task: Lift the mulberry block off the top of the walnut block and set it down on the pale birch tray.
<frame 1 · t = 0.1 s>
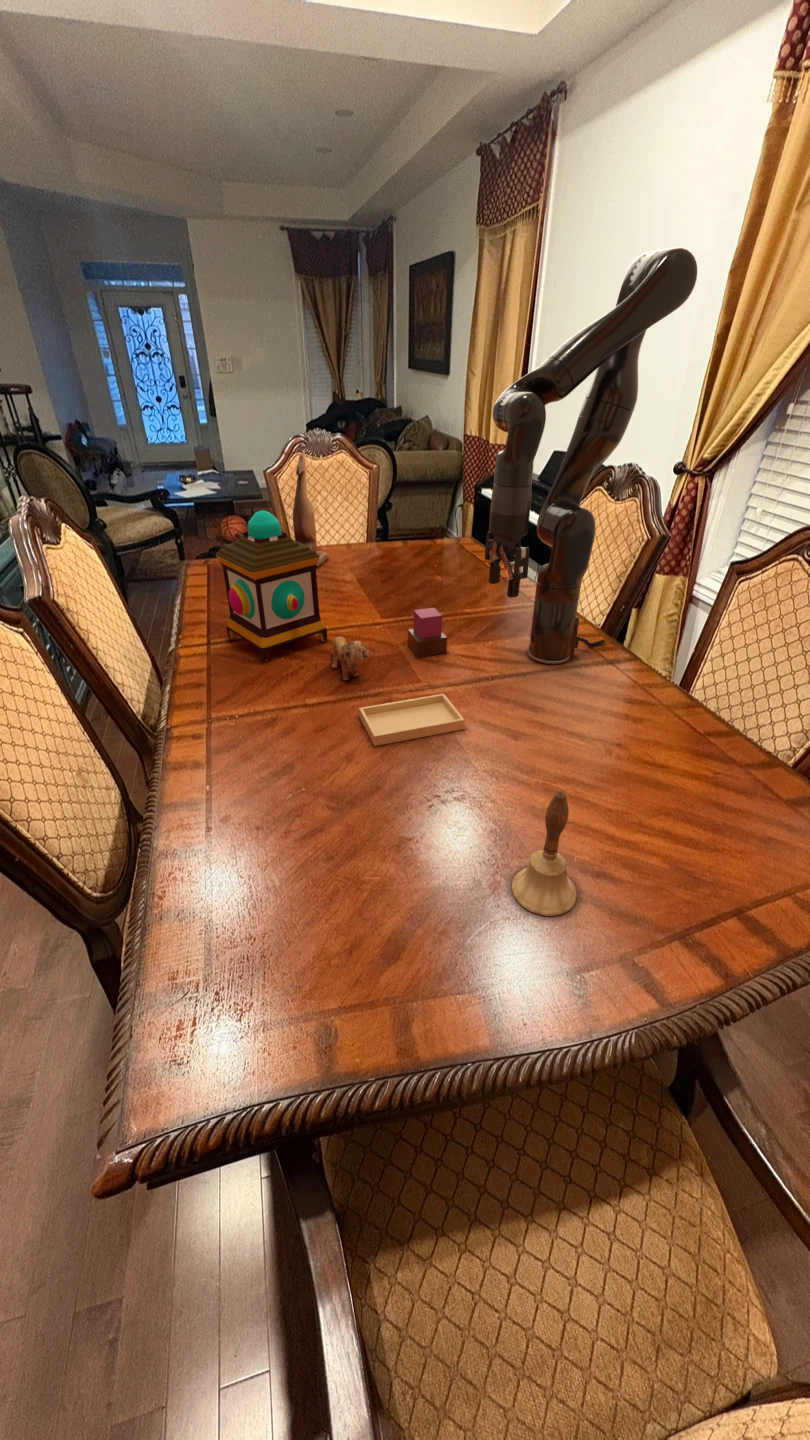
hand: (502, 589, 125), 17 cm above the table, tool pointing down, fingers open, 8 cm apart
walnut block: (426, 649, 141), on the table, touching mulberry block
lion figurine: (348, 672, 131), on the table
tray: (411, 723, 114), on the table
decorative lantern: (277, 640, 145), on the table
bird sculpture: (307, 562, 195), on the table
hand bell: (543, 892, 79), on the table
mulberry block: (427, 633, 138), point 4 cm above the table, touching walnut block
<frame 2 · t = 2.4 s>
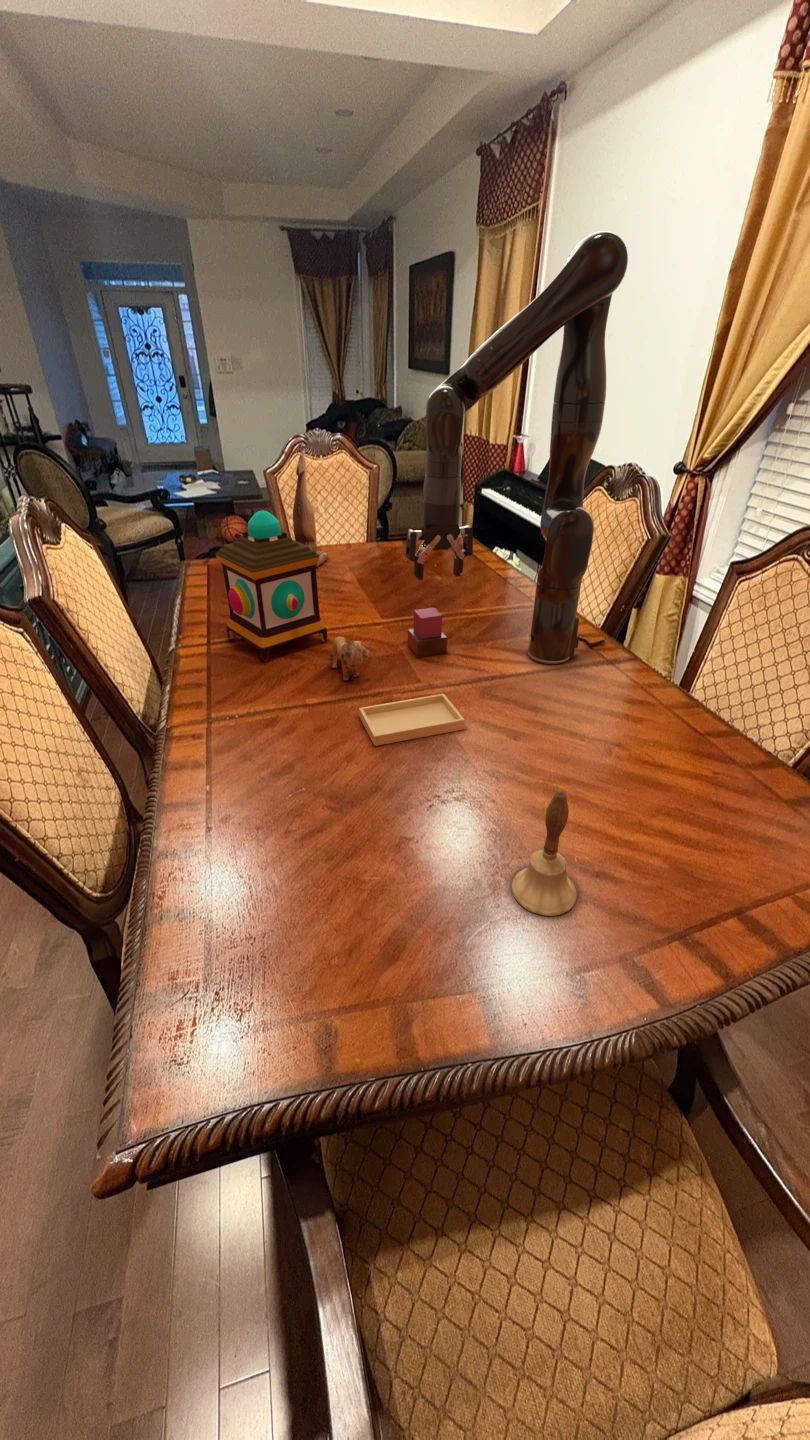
hand: (438, 577, 130), 18 cm above the table, tool pointing down, fingers open, 8 cm apart
nothing on the table moved.
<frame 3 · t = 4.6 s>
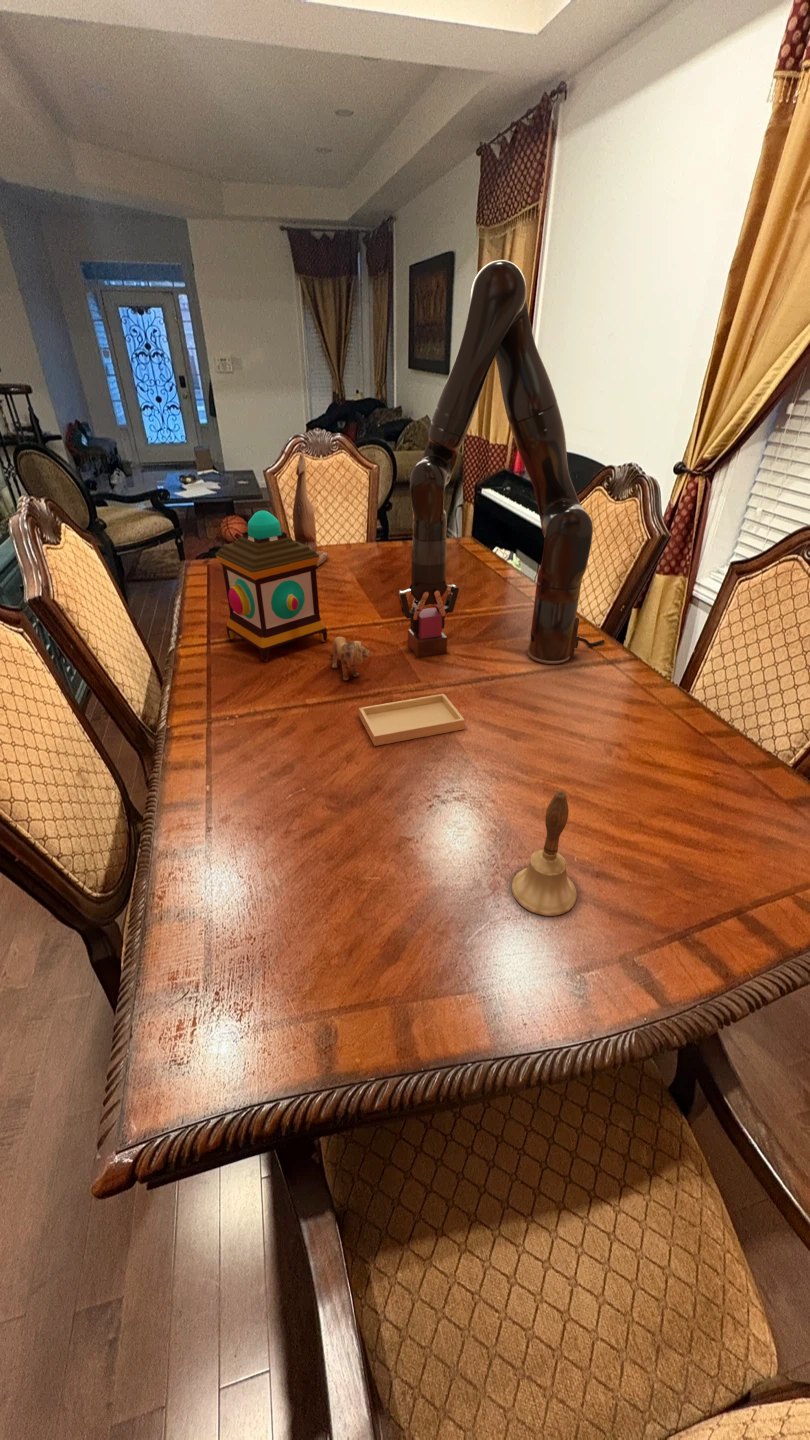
hand: (427, 631, 138), 4 cm above the table, tool pointing down, fingers closed on mulberry block, 5 cm apart
mulberry block: (427, 633, 138), point 4 cm above the table, touching gripper, walnut block
everything else where it was.
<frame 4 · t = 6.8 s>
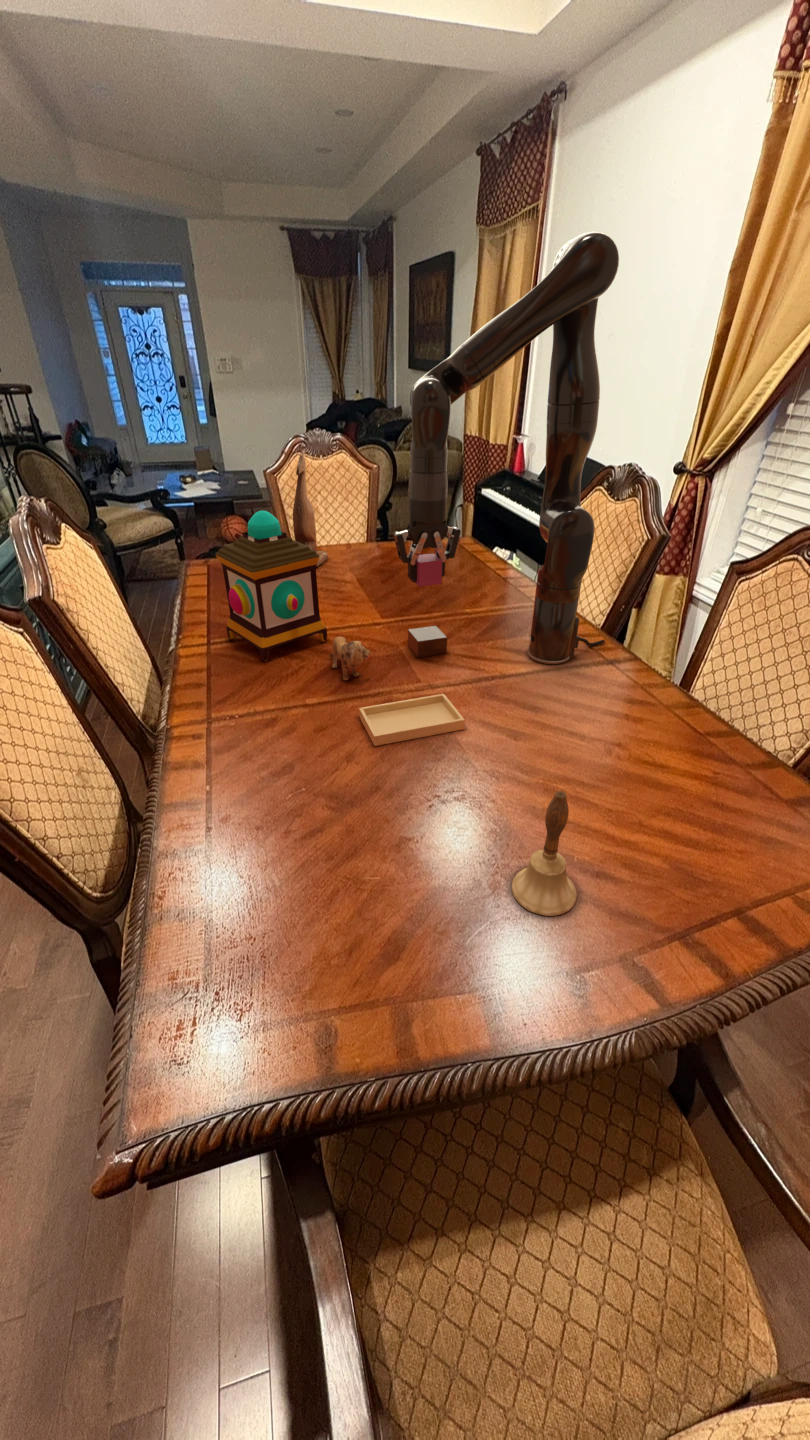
hand: (426, 579, 127), 18 cm above the table, tool pointing down, fingers closed on mulberry block, 5 cm apart
walnut block: (426, 649, 141), on the table
mulberry block: (426, 581, 127), point 18 cm above the table, touching gripper
everything else where it was.
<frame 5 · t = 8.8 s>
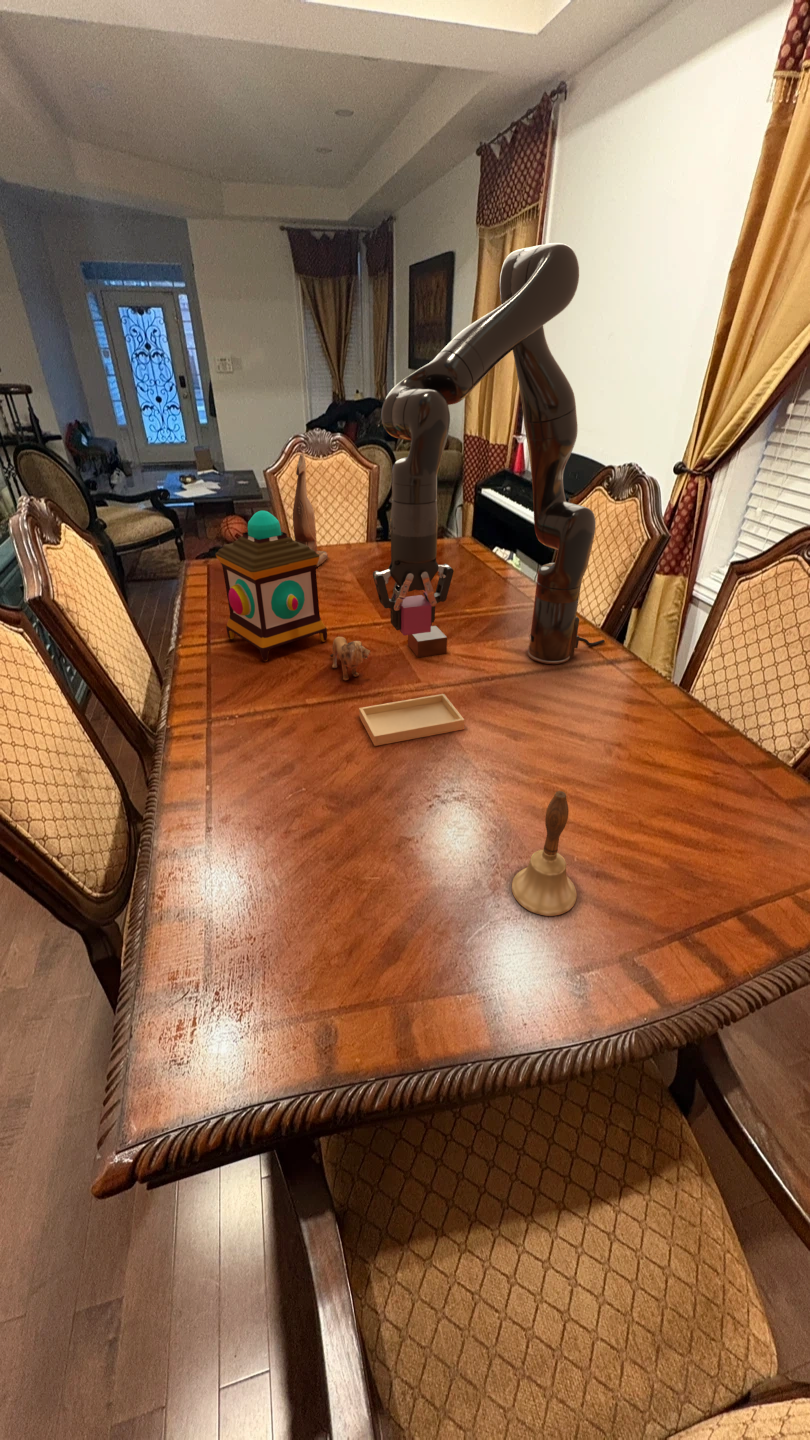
hand: (412, 626, 107), 18 cm above the table, tool pointing down, fingers closed on mulberry block, 5 cm apart
mulberry block: (412, 628, 107), point 18 cm above the table, touching gripper
everything else where it was.
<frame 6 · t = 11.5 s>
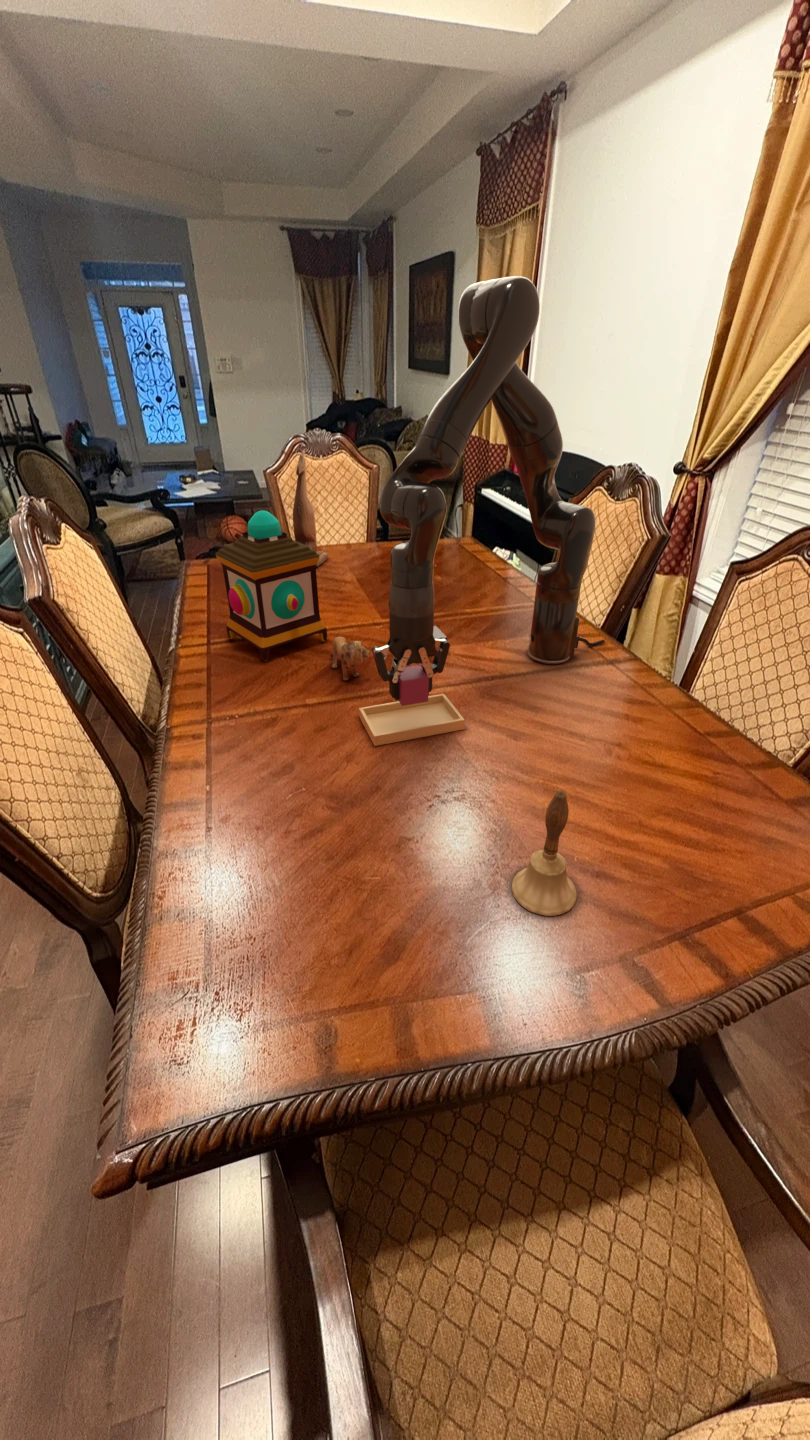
hand: (410, 695, 110), 6 cm above the table, tool pointing down, fingers closed on mulberry block, 5 cm apart
mulberry block: (410, 697, 111), point 6 cm above the table, touching gripper
everything else where it was.
when the fingers open (1 cm above the table, at t = 13.3 s): mulberry block stays where it is, resting on tray.
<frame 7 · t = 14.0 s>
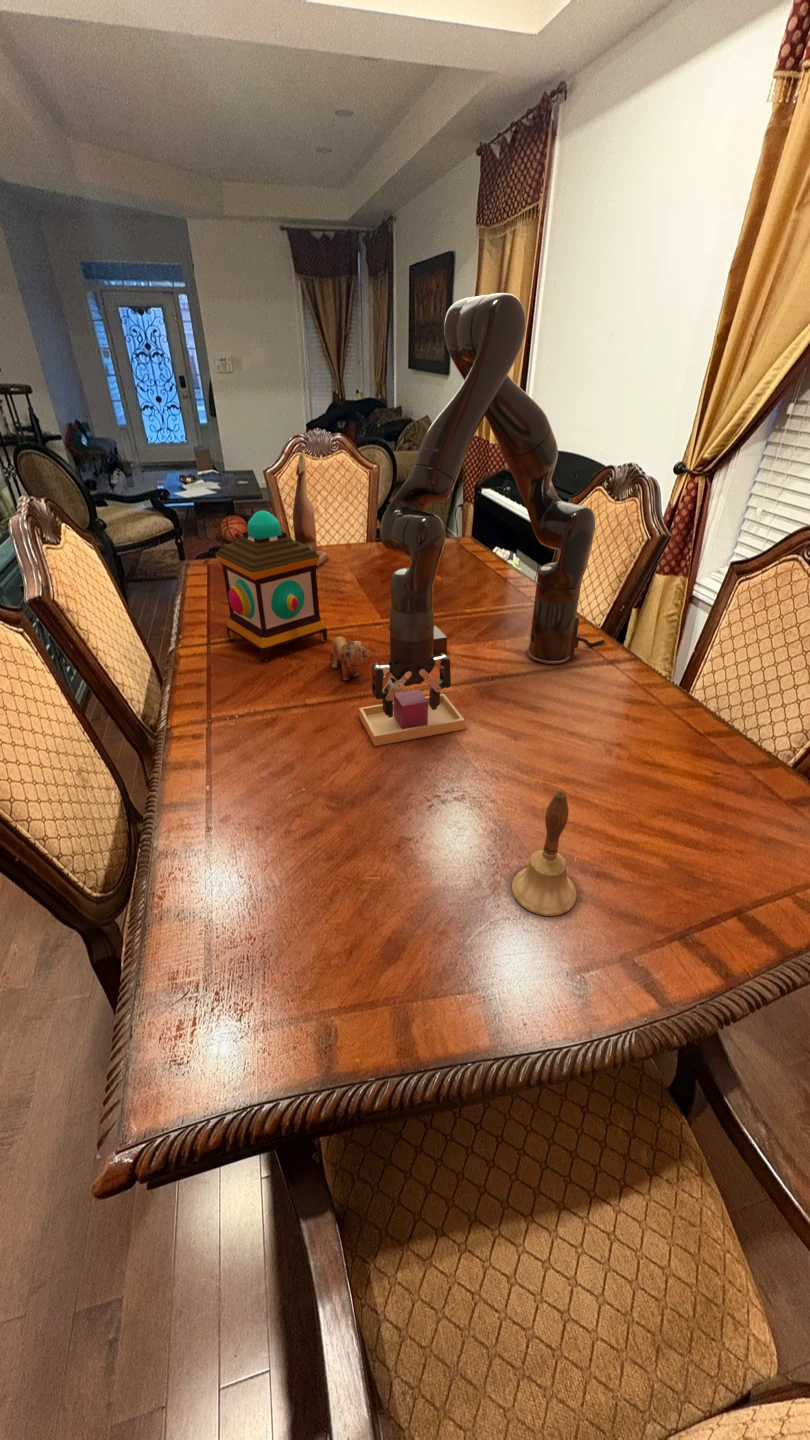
hand: (411, 711, 112), 3 cm above the table, tool pointing down, fingers open, 8 cm apart
mulberry block: (410, 720, 113), point 1 cm above the table, touching tray
everything else where it was.
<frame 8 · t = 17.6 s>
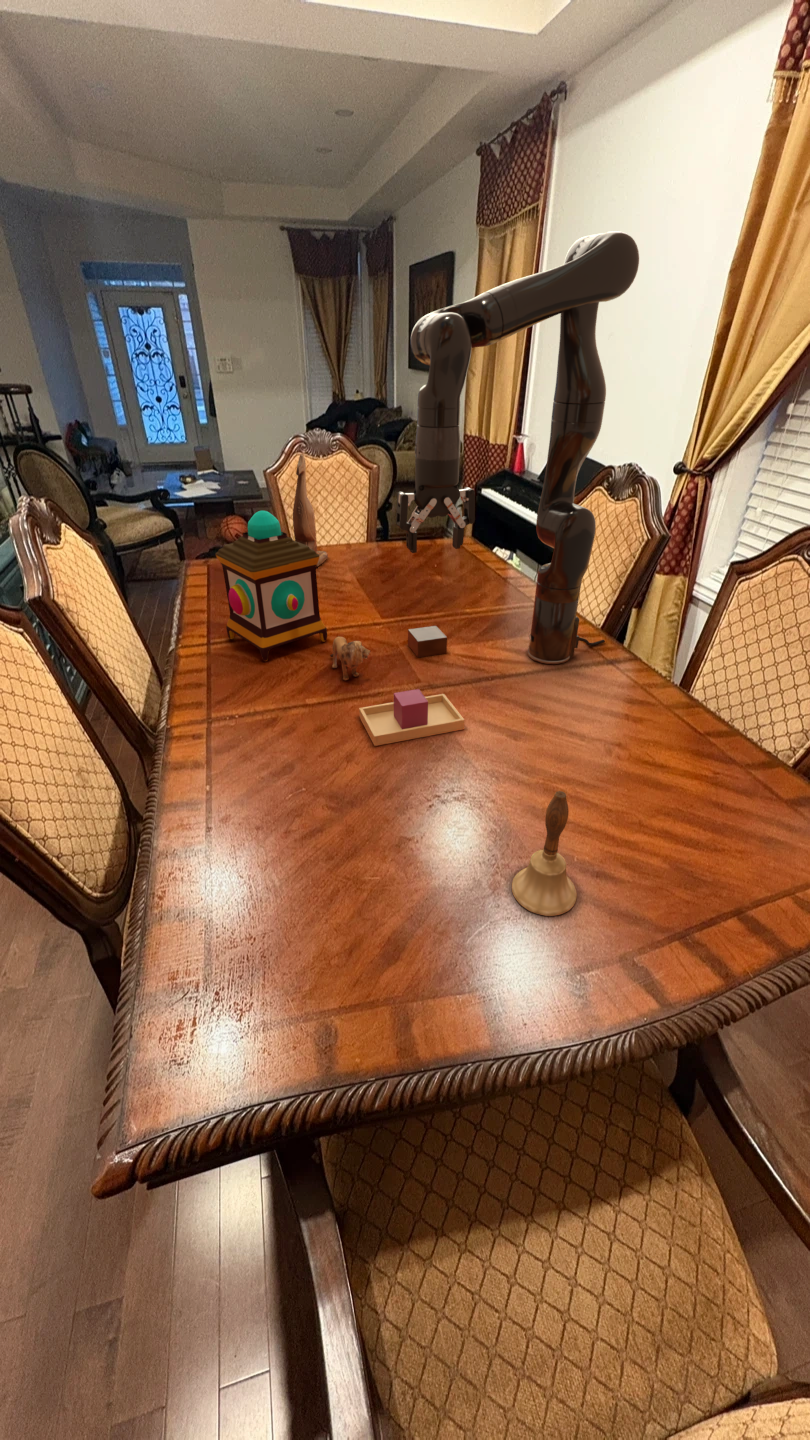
hand: (434, 549, 111), 28 cm above the table, tool pointing down, fingers open, 8 cm apart
nothing on the table moved.
at the end: mulberry block inside the target area in the tray (0.1 cm from its centre), point 0.6 cm above the tray's base; walnut block moved 0.0 cm from its start; the gripper is holding nothing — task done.
